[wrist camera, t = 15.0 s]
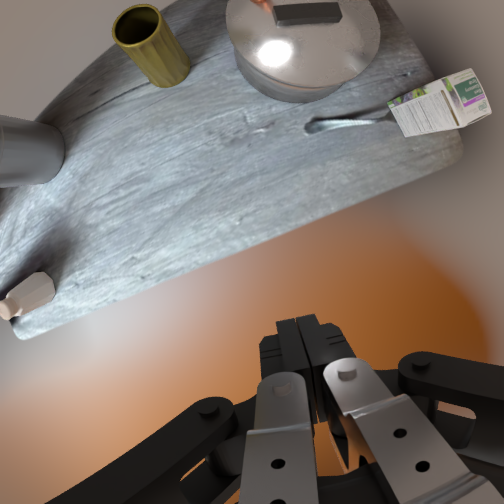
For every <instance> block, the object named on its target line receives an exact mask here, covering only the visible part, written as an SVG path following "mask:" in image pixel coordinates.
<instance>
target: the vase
mask: <svg viewBox="0 0 504 504" xmlns="http://www.w3.org/2000/svg"><path fill="white" fill-rule="evenodd" d="M112 36H113V39H114V41H115V42H116V43H117V44H118V45H119V46H120V47H121V49H122V50H123V51H124V52H125V53H127V55H128V56H129V57H130V58H131V59H132V60H133V61H134V62H135V63H136V65H137V66H138V67H139V68H140V69H141V71H142V72H143V73H144V74H145V75H146V76H147V77H148V79H149V81H150V82H151V83H152V84H154V85H155V86H157V87H161V88H168V87H173V86H175V85H177V84H179V83H180V82H182V81H183V80H184V79H185V77H186V76H187V74H188V72H189V70H190V60H189V57H188V56H187V55H186V54H185V52H184V51H183V49H182V48H181V46H180V45H179V43H178V41H177V40H176V38H175V37H174V35H173V33H172V32H171V30H170V28H169V27H168V25H167V23H166V22H165V20H164V19H163V17H162V15H161V13H160V12H159V11H158V9H157V8H155V7H154V6H152V5H149V4H139V5H134V6H132V7H129V8H128V9H126V10H125V11H123V12H122V13H121V14H120V15H119V16H118V17H117V19H116V20H115V22H114V24H113V28H112Z"/></svg>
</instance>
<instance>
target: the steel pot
mask: <svg viewBox="0 0 504 504" xmlns="http://www.w3.org/2000/svg"><path fill="white" fill-rule="evenodd" d="M234 54H235V60H236V63H237V66H238V68H239V70H240V72H241V74H242V75H243V77H244V78H245V79H246V80H247V81H248V83H249V84H250V85H252V86H253V87H254V88H255V89H256V90H258V91H259V92H261V93H262V94H264V95H266V96H268V97H270V98H273V99H275V100H279V101H283V102H288V103H309V102H314V101H317V100H320V99H323V98H325V97H327V96H329V95H330V94H332V93H333V92H335V91H336V90H337V89H338V88H339V87H340V86H341V85H342V84H340V85H337V86H333V87H327V88H317V89H310V88H299V87H293V86H289V85H286V84H282V83H279V82H277V81H274V80H272V79H270V78H268V77H266V76H264V75H262V74H261V73H259V72H258V71H256V70H255V69H253V68H252V67H251V66H250V65H249V64H247V63H246V62H245V61H244V60H243V59H242V57H241V56H240V55H239V54H238V52H237V51H236V50H235V48H234Z"/></svg>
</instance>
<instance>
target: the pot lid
mask: <svg viewBox="0 0 504 504" xmlns="http://www.w3.org/2000/svg"><path fill="white" fill-rule="evenodd" d="M226 24H227V31H228V34H229V38H230V40H231V42H232V44H233V46H234V48H235V50H236V51H237V52H238V54H239V55H240V56H241V57H242V59H243V60H244V61H245V62H246V63H247V64H249V65H250V66H251V67H252V68H253V69H255V70H256V71H258V72H259V73H261V74H262V75H264V76H266V77H268V78H270V79H272V80H274V81H277V82H279V83H282V84H286V85H289V86H293V87H299V88H310V89H317V88H327V87H333V86H337V85H340V84H343V83H345V82H347V81H350V80H351V79H353V78H355V77H356V76H358V75H359V74H360V73H361V72H362V71H363V70H364V69H366V68H367V67H368V66H369V64H370V63H371V62H372V61H373V59H374V57H375V55H376V54H377V51H378V48H379V44H380V25H379V21H378V18H377V15H376V13H375V11H374V8H373V7H372V5H371V3H370V2H369V0H229V1H228V4H227V9H226Z"/></svg>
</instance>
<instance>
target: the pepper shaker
mask: <svg viewBox="0 0 504 504" xmlns="http://www.w3.org/2000/svg"><path fill="white" fill-rule="evenodd" d="M55 293H56V292H55V288H54V284H53V280H52V279H51V278H50V277H49V276H48V275H47V274H46V273H45V272H36V273H34V274H32V275H31V276H30V277H28V278H27V279H25V280H24V281H23V282H21V283H20V284H19V285H18V286H16V287H15V288H14V289H12V290H11V291H10V292H9V293H8V294H7V296H6V299H4V300H2V301H0V315H1V317H2V318H3V319H5V320H9V319H11V317H13V316H21V315H24V314H26V313H28V312H30V311H32V310H34V309H36V308H39V307H41V306H43V305H45V304H47V303H49V302H51V301H52V299H53V297H54V295H55Z"/></svg>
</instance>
